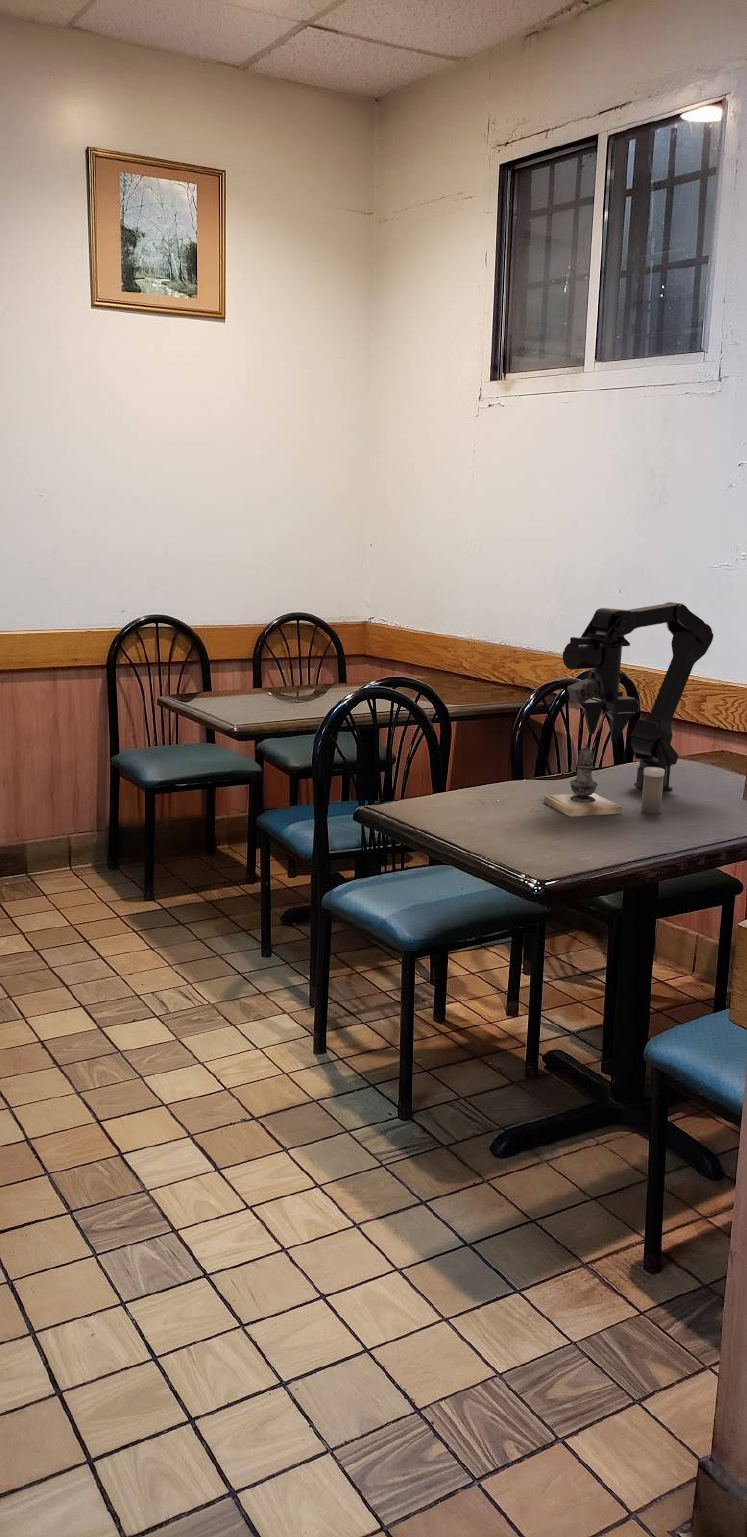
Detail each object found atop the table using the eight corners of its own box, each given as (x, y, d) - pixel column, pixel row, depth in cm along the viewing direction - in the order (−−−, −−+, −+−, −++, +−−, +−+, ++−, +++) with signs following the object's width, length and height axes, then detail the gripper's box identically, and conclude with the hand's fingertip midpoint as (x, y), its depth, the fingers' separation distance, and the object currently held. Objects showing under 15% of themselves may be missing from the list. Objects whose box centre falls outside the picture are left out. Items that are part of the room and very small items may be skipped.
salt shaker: (598, 803, 248) (602, 747, 245) (570, 802, 248) (574, 746, 245) (594, 796, 254) (598, 741, 251) (566, 795, 254) (570, 740, 251)
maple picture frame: (593, 799, 258) (594, 791, 258) (621, 813, 247) (622, 805, 247) (543, 802, 255) (544, 794, 254) (569, 816, 244) (570, 808, 243)
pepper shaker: (654, 808, 252) (657, 766, 250) (664, 813, 248) (668, 771, 246) (636, 809, 251) (640, 767, 249) (647, 814, 247) (650, 771, 245)
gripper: (553, 662, 262) (549, 731, 266) (597, 674, 245) (592, 748, 249) (596, 661, 266) (592, 729, 269) (643, 673, 249) (638, 745, 252)
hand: (602, 738), depth 260 cm, fingers open, 9 cm apart
